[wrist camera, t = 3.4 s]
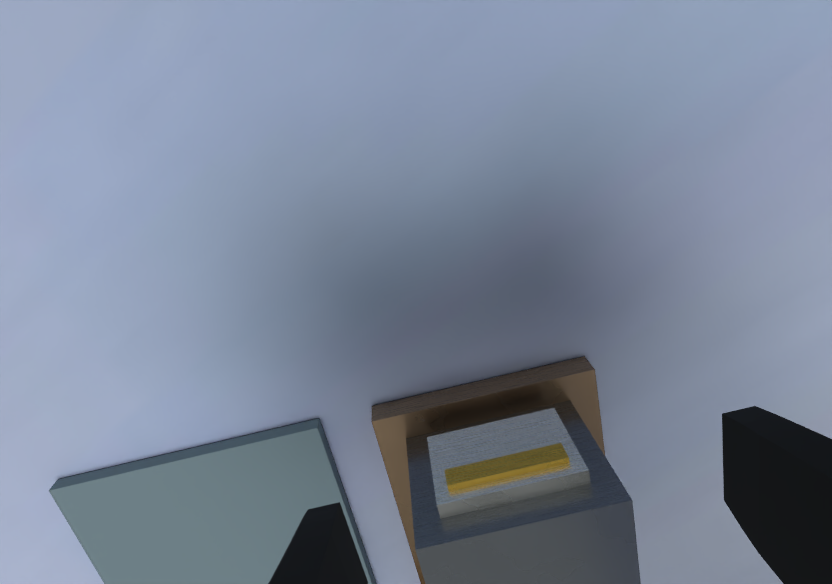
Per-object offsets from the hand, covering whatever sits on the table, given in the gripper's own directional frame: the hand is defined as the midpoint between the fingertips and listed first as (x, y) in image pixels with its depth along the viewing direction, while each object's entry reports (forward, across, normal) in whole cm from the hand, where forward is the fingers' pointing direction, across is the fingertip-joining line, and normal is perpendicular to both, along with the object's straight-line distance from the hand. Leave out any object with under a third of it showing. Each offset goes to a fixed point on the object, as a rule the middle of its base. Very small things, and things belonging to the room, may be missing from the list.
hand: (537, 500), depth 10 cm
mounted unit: (+9, 0, +8) cm, 12 cm away
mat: (+9, +11, +8) cm, 17 cm away
